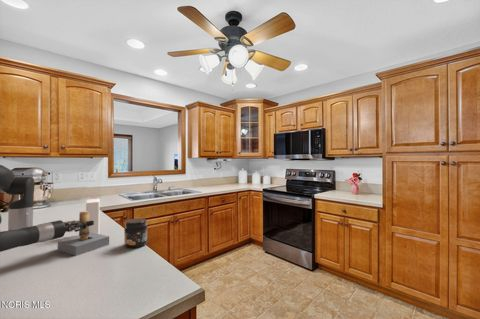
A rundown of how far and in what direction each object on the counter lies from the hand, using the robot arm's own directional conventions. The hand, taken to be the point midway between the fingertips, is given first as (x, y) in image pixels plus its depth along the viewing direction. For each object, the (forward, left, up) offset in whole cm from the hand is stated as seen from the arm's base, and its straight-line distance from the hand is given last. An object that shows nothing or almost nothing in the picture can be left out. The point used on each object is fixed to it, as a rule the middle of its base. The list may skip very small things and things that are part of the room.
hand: (90, 222), depth 110 cm
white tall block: (-15, +10, -12) cm, 22 cm away
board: (0, -3, -11) cm, 12 cm away
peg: (0, -3, -8) cm, 9 cm away
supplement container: (+20, +10, -12) cm, 25 cm away
